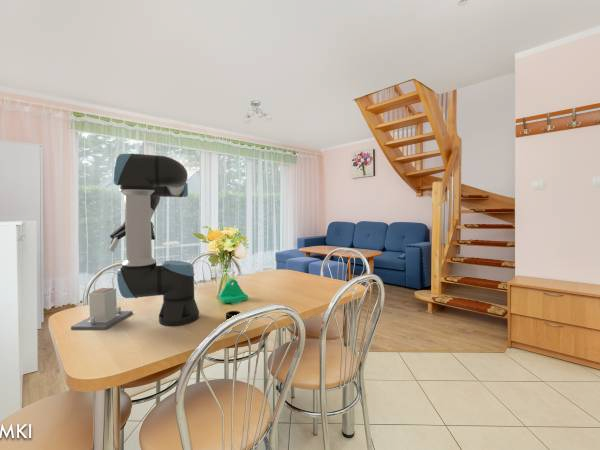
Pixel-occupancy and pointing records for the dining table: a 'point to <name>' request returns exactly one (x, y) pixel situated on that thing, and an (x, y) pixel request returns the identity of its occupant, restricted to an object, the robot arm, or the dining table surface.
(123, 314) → the grey base plate
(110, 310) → the block
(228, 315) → the duct tape
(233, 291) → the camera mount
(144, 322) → the dining table surface
